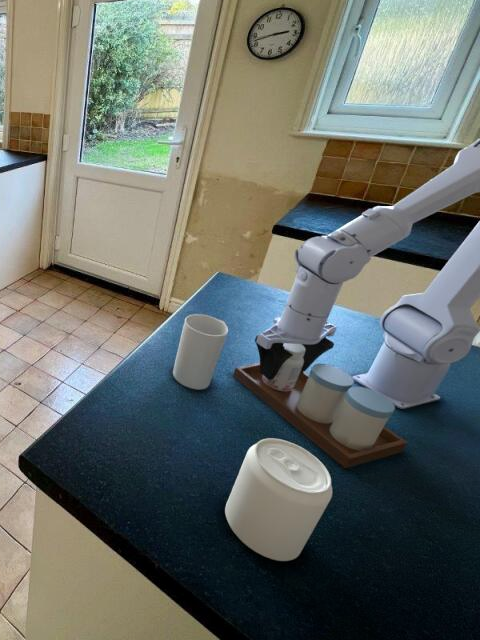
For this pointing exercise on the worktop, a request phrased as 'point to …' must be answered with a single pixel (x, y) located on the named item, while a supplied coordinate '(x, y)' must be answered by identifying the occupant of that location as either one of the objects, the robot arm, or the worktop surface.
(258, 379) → the tray
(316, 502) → the beverage can
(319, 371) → the white jar
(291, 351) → the pill bottle
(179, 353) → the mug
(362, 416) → the blue lidded jar
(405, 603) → the worktop surface
